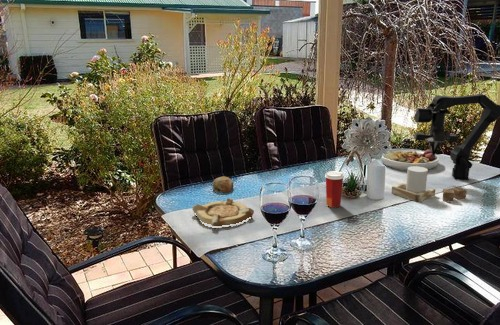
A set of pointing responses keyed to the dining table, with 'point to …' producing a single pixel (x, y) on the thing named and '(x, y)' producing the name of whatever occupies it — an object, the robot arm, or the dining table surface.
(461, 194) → the walnut block
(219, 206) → the ashtray
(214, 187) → the bread roll
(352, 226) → the dining table surface
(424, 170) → the cup
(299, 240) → the dining table surface
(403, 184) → the open wooden frame
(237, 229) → the dining table surface
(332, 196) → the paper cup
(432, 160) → the bowl
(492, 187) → the dining table surface
